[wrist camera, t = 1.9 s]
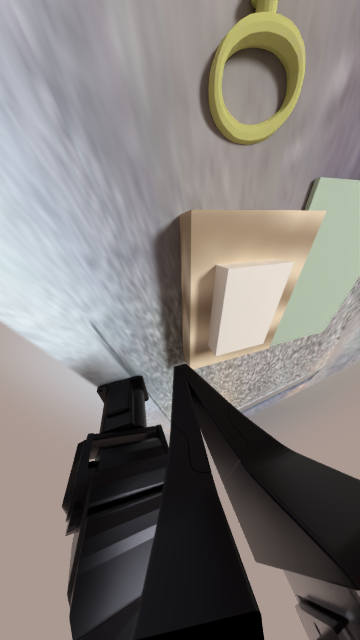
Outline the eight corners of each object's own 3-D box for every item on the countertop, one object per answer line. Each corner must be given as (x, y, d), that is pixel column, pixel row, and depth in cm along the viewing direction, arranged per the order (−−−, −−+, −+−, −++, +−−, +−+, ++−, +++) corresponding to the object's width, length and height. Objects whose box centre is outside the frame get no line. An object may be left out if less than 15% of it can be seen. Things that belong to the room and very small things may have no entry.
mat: (321, 330, 31) (323, 331, 31) (255, 348, 27) (257, 349, 27) (411, 186, 19) (418, 185, 18) (315, 178, 14) (320, 177, 14)
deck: (255, 337, 25) (268, 348, 23) (183, 355, 22) (189, 370, 20) (296, 214, 16) (326, 210, 13) (179, 215, 12) (191, 209, 10)
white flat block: (252, 334, 20) (263, 343, 18) (207, 345, 18) (215, 356, 16) (275, 258, 14) (294, 261, 13) (216, 264, 13) (228, 268, 11)
